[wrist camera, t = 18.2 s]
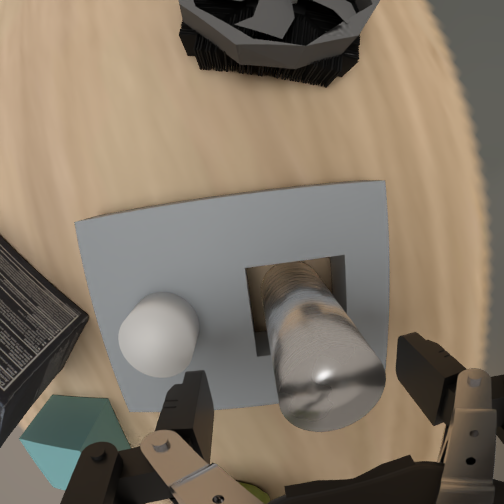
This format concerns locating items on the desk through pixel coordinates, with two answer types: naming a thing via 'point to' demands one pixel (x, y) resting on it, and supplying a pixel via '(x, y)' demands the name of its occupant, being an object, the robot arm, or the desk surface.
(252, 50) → the cpu cooler
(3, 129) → the desk surface
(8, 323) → the small box
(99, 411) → the teal cube
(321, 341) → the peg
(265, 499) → the plant pot
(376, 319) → the peg board
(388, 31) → the desk surface
